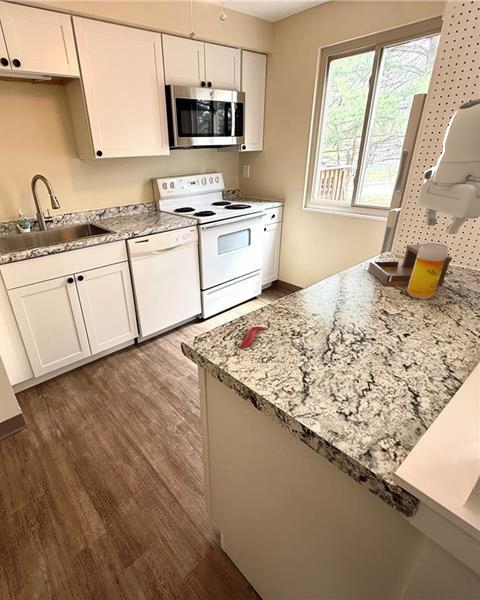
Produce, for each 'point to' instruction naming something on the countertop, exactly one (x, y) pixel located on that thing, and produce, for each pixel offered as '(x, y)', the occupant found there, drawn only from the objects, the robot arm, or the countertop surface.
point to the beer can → (427, 270)
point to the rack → (401, 268)
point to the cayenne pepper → (250, 336)
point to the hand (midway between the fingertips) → (439, 229)
